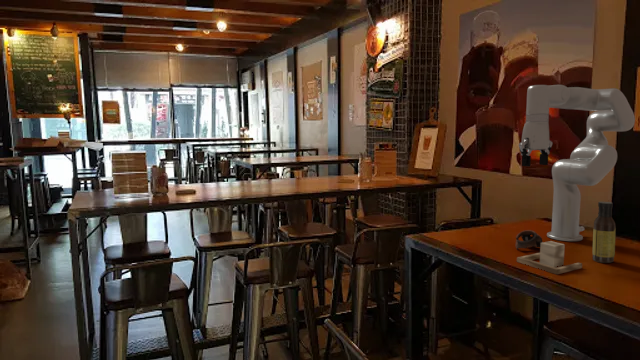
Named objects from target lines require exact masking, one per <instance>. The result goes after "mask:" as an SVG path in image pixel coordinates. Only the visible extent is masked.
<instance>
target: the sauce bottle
mask: <svg viewBox="0 0 640 360" xmlns="http://www.w3.org/2000/svg"><path fill="white" fill-rule="evenodd" d="M597 204H598V214H597V217H596V218H595V220H593V221H594V222H593V229H592V230H593V231H592V232H593V234H592V253H591V254H592V261H594V262H597V263H603V264H607V263H609V264H610V263H613V262H614V261H615V259H614V258H615V255H616V254H615V253H616V252H615V251H616V232H617V231H616V229H617V228H616V227H617V226H616V222H615V220H614V219H613V217H612V216H613V207H614V205H613V202H611V201H598V203H597Z"/></svg>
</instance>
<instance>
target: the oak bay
mask: <svg viewBox="0 0 640 360" xmlns="http://www.w3.org/2000/svg"><path fill="white" fill-rule="evenodd" d="M535 260H540V252H536V253H532V254H527V255H523V256H522V255H521V256H517V257H516V262H517V263H520V264H522V265H525V264H526V266H528V265H529V266H528V267H531V268H536V269H538V268H539V269H538V270H541V269H542V270H541V271H544V270H545V272H548V273H551V274H554V275H560V274H563V273H568V272H572V271H576V270H579V269H583V263H582V262H579V261H578V262H576V263H575V262H574V263H571V264H567V265H563V266H558V267H552V266H549V265H545V264H542V263H540V261H539V262H538V261H535Z"/></svg>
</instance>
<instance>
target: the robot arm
mask: <svg viewBox="0 0 640 360" xmlns="http://www.w3.org/2000/svg"><path fill="white" fill-rule="evenodd" d="M551 108H552V109H563V110H564V109H565V110H578V111H589V112H592V113H590V114H589V116H588V117H587V120H586V137H585V138H584V139H583V140H582V141H581V142H580V143H579V144H578V145H577V146H576V147H575V148H574V150H572V152H571V154H570V157H569V158H567V159H566V158H563V159H559V160H556V162H554V163H553V165H552V167H551V176H552V183H553V198H552V199H553V200H552V212H551V213H552V215H551V218H552V219H551V231H549V232H547V233H546V236H547V238H550V239H552V240H556V241H561V242H562V241H563V242H580V241H582V240H583V239H584V238H583V237H584V236H583V235H582V234H580V233H581V232H583V231H585V227H584V226H581V225H580V216H581V215H580V214H581V213H580V211H581V199H582V195H581V191H580V188H579V187H578V186H588V187H589V186H590V187H591V186H596V185H598V183H600V182H601V181H602V180H603V179H604V178H605V176H606V177H607V175H608V174H609V172H611V171H612V170H613V168H614V167H615V166H616V163H617V161H618V151H617V150H616V148H615V147H613V146H612V145H609V141H608V138H607V137H606V136H605V134H604V132H627V131H630V130H631V129H632V128H633V127H634V126H635V122H636V119H635V115H634V114H635V113H634V111H633V109H632V108H631V105H630V103H629V102H628V99H627V97H626V96H625V94H624V93H623V92H622V91H621V90H620V89H618V88H599V89H596V88H588V87H579V86H574V87H573V86H571V87H570V86H569V87H567V86H566V85H563V84H553V85H551V84H550V85H547V84H534V85H533V84H532V85H529V86H528V88H527V92H526V109H525V110H526V111H525V122H524V126H523V129H522V132H521V133H522V134H521V141H520V142H519V143H518V147H519V152H520V155H521V157H522V158H521V166H522V167H528V168H529V167H531V159H532V157H531V154H532V151H539V152H540V154H539V161H538V162H539V165H541V166H548V165H549V155H550V154H551V153H550V152H551V150H552V146H553V141H552V140H550V125H549V121H550V120H549V119H550V118H549V116H550V109H551Z"/></svg>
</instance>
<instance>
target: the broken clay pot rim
mask: <svg viewBox="0 0 640 360" xmlns="http://www.w3.org/2000/svg"><path fill="white" fill-rule="evenodd" d="M519 238H521V239H522V240H519ZM515 239H516V240H515V244H514V245H515V249H516V250H517V251H518V250H519V249H528V248H529V249H530V248H540V245H541V243H543V242H544V241H543V238H542V236H540V235H539V233H537V232H536V231H534V230H532V229H526V230H522V231H520V232H519V233H517V234H516V236H515Z"/></svg>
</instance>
